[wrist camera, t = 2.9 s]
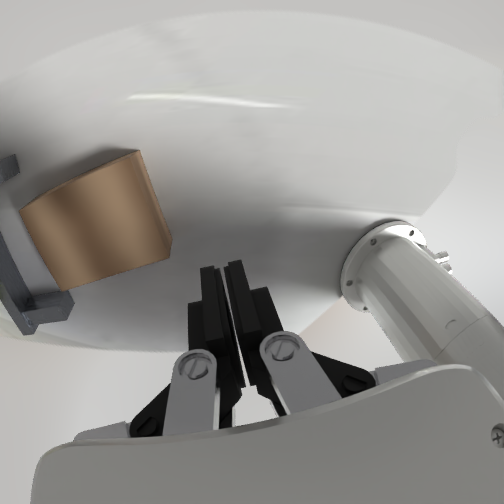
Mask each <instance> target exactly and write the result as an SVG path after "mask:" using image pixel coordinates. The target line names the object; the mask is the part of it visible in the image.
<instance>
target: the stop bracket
mask: <svg viewBox="0 0 504 504" xmlns="http://www.w3.org/2000/svg"><path fill="white" fill-rule="evenodd" d="M18 173H20V171H19V167H18V164H17V160H16V156H15V154H14V155H12V156H10V157H7V158H5V159H3V160H1V161H0V183H2V182H4V181H6V180H8V179H9V178H11V177H13V176H15V175H17V174H18ZM0 300H1V301H2V303H3V305H4V306H5V308H6V310H7V311H8V313H9V314H10V316H11V317H12V319H13V321H14V322H15V324H16V325H17V327H18V328H19V330H20V331H21V332H22V334H23V335H32V334H34V333H35V331H36V329H37V327H38V325H39V324H44V323H51V322H58V321H65V320H67V319H68V317H69V315H70V312H71V310H72V308H73V306H74V304H75V303H74V301H73V299H72V297H71V295H70V293H69V292H68V290H66V291H63V292H62V291H57V292H52V293H48V294H43V295H38V296H33V297H32V296H31V294H30V292H29V290H28V288H27V287H26V285H25V283H24V281H23V279H22V277H21V275H20V273H19V271H18V269H17V267H16V265H15V263H14V261H13V259H12V257H11V255H10V253H9V250H8V248H7V246H6V244H5V241H4V239H3V237H2V234H1V232H0Z"/></svg>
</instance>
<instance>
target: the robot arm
mask: <svg viewBox="0 0 504 504" xmlns="http://www.w3.org/2000/svg"><path fill="white" fill-rule="evenodd" d="M448 260H449V256H448V254H447V252H445V251H444V252H440V253H438V254H436V255H435V254H433V253H432V252H431V251H430V250H429V249H427V244H426V241H425V238H424V236H423V235H422V233H421V232H420V231H419V230H418V229H417V228H416V227H414V226H413V225H411V224H409V223H406V222H403V221H393V222H388V223H385V224H382V225H380V226H378V227H376V228H374V229H373V230H371V231H370V232H368V233H367V234H366V235H365V236H364V237H362V238H361V239H360V240H359V242H358V243H357V244H356V245H355V246H354V247H353V249H352V250H351V252H350V253H349V255H348V257H347V259H346V261H345V263H344V265H343V269H342V272H341V280H340V284H341V291H342V293H343V296H344V298H345V299H346V301H347V302H348V304H350V306H351V307H352V308H354V309H356V310H358V311H361V312H370V313H371V314H372V315H373V317H374V318H375V320H376V321H377V323H378V324H379V325H380V327H381V328H382V330H383V331H384V333H385V334H386V336H387V337H388V338H389V340H390V342H391V343H392V345H393V346H394V347H395V349H396V351H397V352H398V354H399V355H400V357H401V358H402V360H403V361H404V363H402V364H396V365H390V366H385V367H379V368H375V371H370V372H368V371H366V370H364V369H362V368H359V367H356V366H352V365H350V364H346V363H343V362H340V361H337V360H334V359H331V358H328V357H326V356H323V355H320V354H317V353H314V352H311V351H310V350H309V349H308V347H307V346H306V344H305V343H304V341H303V340H302V339H301V338H300V337H299V335H297V334H295V333H292V332H288V331H284V330H283V327H282V325H281V322H280V319H279V317H278V314H277V311H276V309H275V306H274V304H273V301H272V298H271V296H270V293H269V290H268V288H267V287H263V288H258V289H254V290H250V288H249V285H248V281H247V278H246V275H245V271H244V268H243V264H242V261H241V260H237V261H232V262H228V265H229V266H226V267H224V272H225V278H226V283H227V288H228V294H229V299H230V304H231V309H232V314H233V320H234V325H235V330H236V334H237V338H238V342H239V346H240V350H241V354H242V357H243V361H244V365H245V368H246V372H247V376H248V379H249V383H250V386H254V385H256V387H257V391H258V394H260V395H262V396H264V397H266V398H268V399H269V400H270V404H271V406H272V408H273V410H274V412H275V414H276V416H277V418H274V419H270V420H266V421H261V422H257V423H252V424H247V425H241V426H236V427H235V406H234V405H235V404H236V403H237V402H238V401H239V399H240V398H241V396H242V392H241V388H244V387H246V385H245V380H244V376H243V370H242V365H241V361H240V356H239V351H238V346H237V341H236V336H235V331H234V326H233V321H232V316H231V313H230V309H229V305H228V301H227V297H226V293H225V289H224V284H223V280H222V276H221V272H220V268H217V269H214V266H209V267H204V268H200V273H201V290H202V301H198V302H193V303H188V344H189V351H188V352H186V353H184V354H182V355H181V356H180V357H179V358H178V359H177V361H176V362H175V365H174V368H173V373H172V379H171V383H170V384H169V385H168V386H167V387H166V388H165V389H164V390H163V391H161V393H159V394H158V395H157V396H156V397H155V398H154V399H153V400H152V401H151V402H150V403H149V404H148V405H147V406H146V407H145V408H144V409H143V410H142V411H141V412H140V413H139V414H138V415H136V416H135V418H134V419H133V420H132V422H130V423H126V422H125V421H124V422H120V423H116V424H112V425H108V426H104V427H100V428H96V429H91V430H87V431H83V432H81V433H79V434H78V435H76V437H75V438H74V440H73V442H69V443H65V444H62V445H59V446H57V447H54V448H52V449H50V450H49V451H47V452H46V453H45V454H44V455H43V456H42V457H41V458H40V460H39V462H38V464H37V467H36V470H35V474H34V479H33V485H32V491H31V502H30V504H504V327H503V326H502V325H501V323H500V322H499V321H498V320H497V319H496V318H495V317H494V316H493V315H492V314H491V313H490V312H489V311H488V310H487V309H486V308H485V307H484V306H483V305H482V304H481V303H480V302H479V301H478V300H477V299H476V298H475V297H474V296H473V295H472V294H471V293H470V292H469V291H468V290H467V289H466V288H465V287H464V286H463V285H462V284H461V283H460V282H459V281H458V280H456V279H455V278H454V277H453V276H452V269H451V267H450V265H449V264H444V265H440V264H441V263H444V262H447V261H448Z"/></svg>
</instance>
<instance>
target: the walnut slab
mask: <svg viewBox="0 0 504 504" xmlns="http://www.w3.org/2000/svg"><path fill="white" fill-rule="evenodd" d="M19 213H20V215H21V217H22V219H23V222H24V224H25V226H26V228H27V230H28V232H29V234H30V236H31V238H32V240H33V242H34V244H35V246H36V248H37V250H38V252H39V253H40V255H41V257H42V259H43V261H44V263H45V264H46V266H47V268H48V270H49V271H50V273H51V275H52V276H53V278H54V280H55V281H56V283H57V285H58V286H59V288H60V290H61V291H62V292H63V291H66V290H69V289H72V288H75V287H78V286H81V285H84V284H87V283H90V282H94V281H97V280H100V279H103V278H106V277H109V276H113V275H116V274H119V273H122V272H125V271H129V270H132V269H135V268H138V267H141V266H145V265H148V264H151V263H155V262H158V261H161V260H164V259H168V258H169V256H170V250H171V244H172V237H171V234H170V232H169V229H168V227H167V224H166V222H165V219H164V217H163V214H162V211H161V209H160V206H159V203H158V201H157V198H156V195H155V193H154V190H153V187H152V184H151V182H150V179H149V176H148V173H147V170H146V167H145V164H144V162H143V159H142V156H141V153H140V150H138V151H135V152H133V153H130V154H128V155H125V156H123V157H120V158H118V159H115V160H113V161H110V162H108V163H106V164H103V165H101V166H99V167H97V168H94V169H92V170H90V171H88V172H85V173H83V174H81V175H79V176H77V177H75V178H73V179H71V180H69V181H67V182H65V183H63V184H61V185H59V186H57V187H55V188H53V189H51V190H49V191H47V192H45V193H43V194H41V195H40V196H38V197H36V198H35V199H33V200H32V201H31V202H29V203H28V204H27V205H26V206H24V207H23V208H22V209H20V210H19Z"/></svg>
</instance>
